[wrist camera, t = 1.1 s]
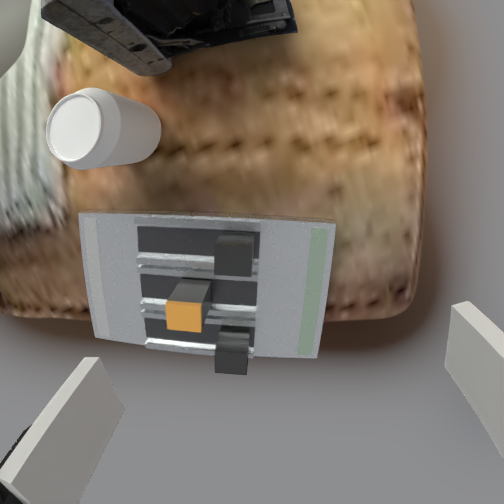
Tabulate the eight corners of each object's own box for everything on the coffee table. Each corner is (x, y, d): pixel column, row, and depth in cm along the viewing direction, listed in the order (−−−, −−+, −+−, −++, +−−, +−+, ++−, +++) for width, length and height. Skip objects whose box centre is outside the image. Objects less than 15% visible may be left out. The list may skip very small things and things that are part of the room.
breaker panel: (101, 329, 37) (76, 360, 30) (87, 209, 32) (51, 223, 26) (314, 348, 36) (323, 387, 29) (332, 219, 31) (348, 237, 25)
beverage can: (99, 137, 30) (27, 136, 18) (136, 92, 28) (74, 67, 17) (136, 175, 31) (73, 190, 20) (176, 129, 29) (127, 118, 18)
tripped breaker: (182, 301, 32) (167, 329, 27) (181, 278, 32) (165, 303, 26) (211, 303, 32) (201, 332, 27) (211, 280, 31) (200, 306, 26)
